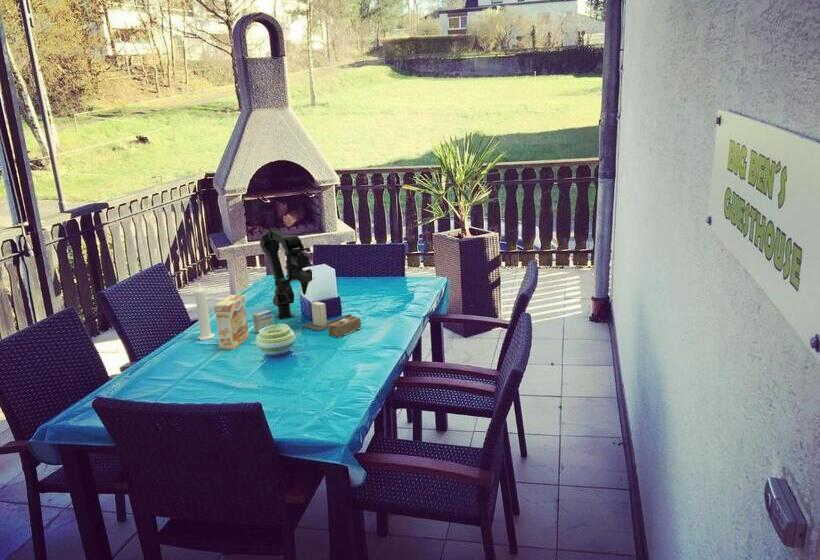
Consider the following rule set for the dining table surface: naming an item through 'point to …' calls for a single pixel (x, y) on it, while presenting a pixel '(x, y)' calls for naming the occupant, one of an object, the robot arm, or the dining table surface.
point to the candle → (203, 314)
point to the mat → (315, 326)
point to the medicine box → (262, 319)
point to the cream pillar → (319, 313)
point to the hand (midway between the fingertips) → (296, 297)
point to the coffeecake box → (231, 321)
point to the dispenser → (343, 325)
